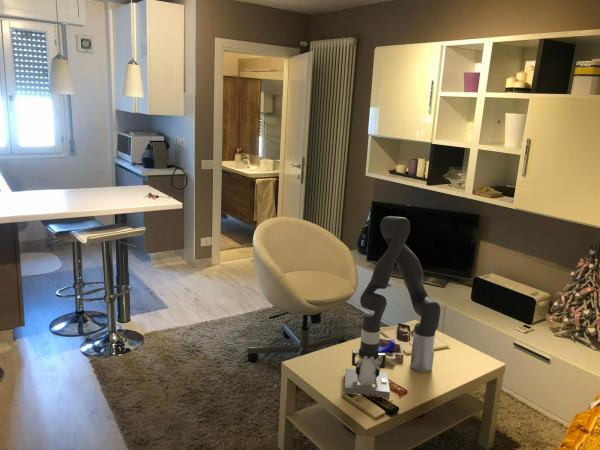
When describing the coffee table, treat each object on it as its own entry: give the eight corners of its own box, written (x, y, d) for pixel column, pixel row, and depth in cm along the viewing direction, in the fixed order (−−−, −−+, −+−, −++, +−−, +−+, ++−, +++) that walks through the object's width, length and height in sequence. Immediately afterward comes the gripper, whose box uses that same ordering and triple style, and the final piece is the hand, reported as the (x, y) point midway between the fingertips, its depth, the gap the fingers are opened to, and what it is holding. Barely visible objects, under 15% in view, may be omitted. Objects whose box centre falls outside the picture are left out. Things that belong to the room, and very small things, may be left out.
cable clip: (368, 353, 237) (369, 341, 236) (368, 348, 241) (369, 337, 240) (393, 355, 236) (395, 343, 235) (393, 350, 240) (394, 339, 239)
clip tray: (400, 346, 245) (400, 339, 244) (403, 366, 227) (404, 359, 226) (361, 342, 247) (361, 336, 246) (361, 362, 228) (362, 355, 227)
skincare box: (363, 387, 206) (365, 360, 203) (357, 381, 210) (359, 355, 207) (375, 384, 208) (378, 357, 205) (369, 378, 212) (372, 352, 209)
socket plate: (386, 378, 216) (387, 371, 215) (389, 398, 201) (390, 390, 200) (345, 374, 217) (345, 367, 216) (344, 394, 203) (345, 386, 202)
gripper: (387, 336, 207) (383, 372, 211) (352, 333, 208) (349, 369, 212) (388, 345, 200) (385, 381, 204) (352, 341, 201) (349, 378, 205)
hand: (367, 375), depth 208 cm, fingers closed on skincare box, 7 cm apart
